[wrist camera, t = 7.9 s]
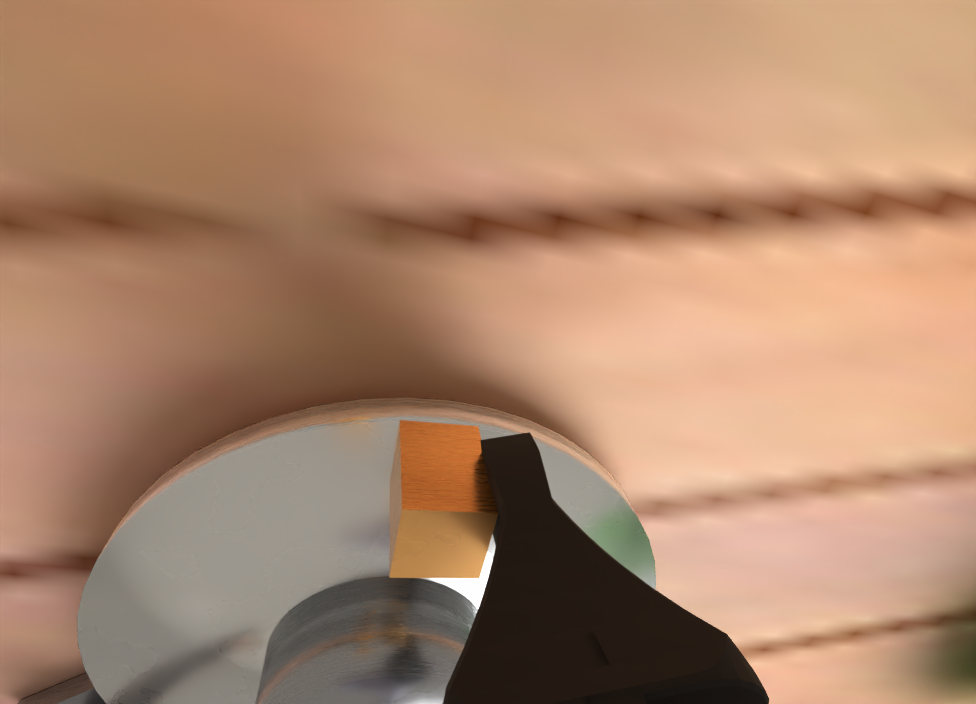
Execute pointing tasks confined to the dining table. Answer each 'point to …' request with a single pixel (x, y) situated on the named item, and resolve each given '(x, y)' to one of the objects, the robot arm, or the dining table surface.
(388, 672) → the cover
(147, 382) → the dining table surface
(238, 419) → the dining table surface
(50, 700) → the dial stand
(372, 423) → the disc
